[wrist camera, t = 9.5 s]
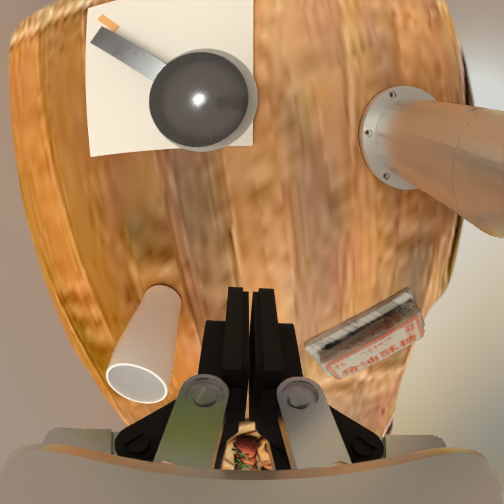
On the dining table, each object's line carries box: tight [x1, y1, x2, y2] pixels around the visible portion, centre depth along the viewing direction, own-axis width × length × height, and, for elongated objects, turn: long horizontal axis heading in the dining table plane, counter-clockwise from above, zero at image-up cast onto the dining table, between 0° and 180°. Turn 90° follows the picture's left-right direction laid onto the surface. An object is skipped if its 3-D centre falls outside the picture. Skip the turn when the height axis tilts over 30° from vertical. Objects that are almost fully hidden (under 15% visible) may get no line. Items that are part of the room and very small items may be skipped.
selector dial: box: [90, 26, 249, 147], centre depth 25 cm, size 18×9×3 cm, turn 51°
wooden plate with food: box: [223, 419, 272, 471], centre depth 58 cm, size 32×32×8 cm
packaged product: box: [304, 287, 425, 380], centre depth 43 cm, size 18×5×10 cm
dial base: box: [86, 0, 258, 157], centre depth 27 cm, size 18×18×2 cm
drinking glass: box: [106, 285, 182, 403], centre depth 34 cm, size 7×7×15 cm
